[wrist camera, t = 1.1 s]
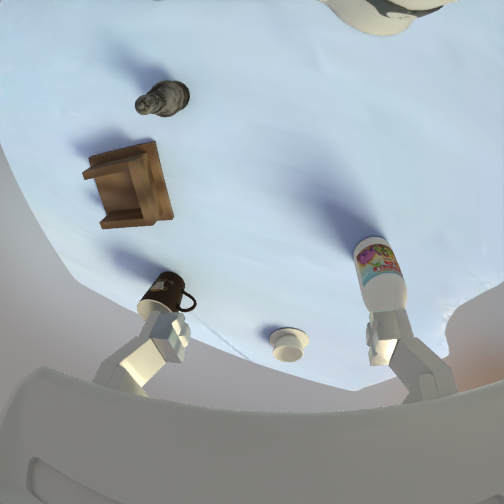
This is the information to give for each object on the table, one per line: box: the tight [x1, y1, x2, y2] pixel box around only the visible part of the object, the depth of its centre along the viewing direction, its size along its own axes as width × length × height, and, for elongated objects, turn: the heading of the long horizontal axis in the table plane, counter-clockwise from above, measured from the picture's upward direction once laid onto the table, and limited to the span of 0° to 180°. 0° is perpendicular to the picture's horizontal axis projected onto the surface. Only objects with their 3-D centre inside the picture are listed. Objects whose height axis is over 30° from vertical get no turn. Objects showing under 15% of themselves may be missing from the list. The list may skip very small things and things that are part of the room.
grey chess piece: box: [135, 81, 190, 117], centre depth 34 cm, size 6×6×12 cm
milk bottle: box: [353, 237, 407, 312], centre depth 43 cm, size 8×8×20 cm
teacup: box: [269, 328, 309, 362], centre depth 67 cm, size 10×10×5 cm
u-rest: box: [82, 141, 174, 229], centre depth 47 cm, size 15×15×6 cm
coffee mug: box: [137, 272, 197, 321], centre depth 59 cm, size 12×9×10 cm
